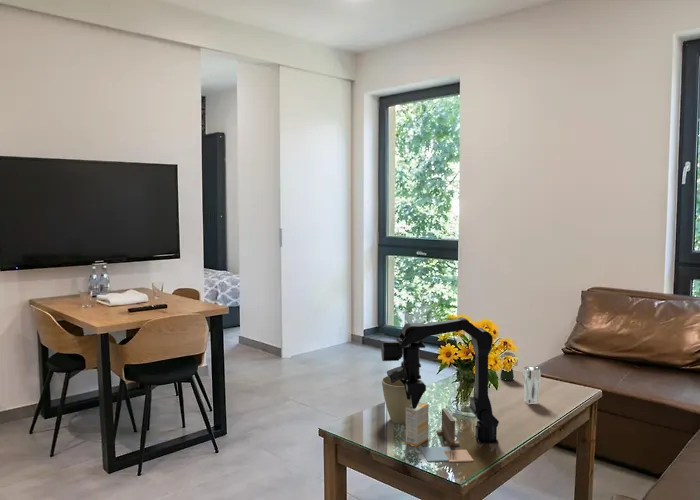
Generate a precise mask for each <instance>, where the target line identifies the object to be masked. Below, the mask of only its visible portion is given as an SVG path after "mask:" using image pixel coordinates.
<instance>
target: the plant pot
mask: <svg viewBox="0 0 700 500" xmlns="http://www.w3.org/2000/svg"><path fill="white" fill-rule="evenodd" d="M417 380H420V379H417ZM381 385H382V392H383V397H384V402H385V405H386V409H387V413H388V415H389V416H388V417H389V418H390V420H391V422H392V423H395V424H397V425H398V424H399V425H400V424H401V425H402V424H404V425H405V424H406V407H408V406H410V405H412V402H411V399H410V400H408V399H407V396H406V392H405V388H404V384H403V383H402V382H401V381H400V380H398V381H396V382H394V383H391V382H390V380H389V377H388V375H387V376H386V375H385V376H384V377H382V378H381Z"/></svg>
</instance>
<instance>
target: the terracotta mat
mask: <svg viewBox="0 0 700 500" xmlns="http://www.w3.org/2000/svg"><path fill="white" fill-rule="evenodd" d="M448 451H449V452H450V451H451V453H453V454H454V455H455V456H456V457H454V458H453V454H451V458H450V457H449V456H448V455H450V454H448ZM448 451H447V450H446V452H447V453H446V452H445V451H444V453H445V455H446V454H447V455H446V456H448V457H447V458H448V459H449V458H450V459H449V461H448V462H449V463H465V462H466V463H467V462H469V463H470V462H474V459H473V457H472V456H471V455H470V453H469V452H468V450H467V449H451V450H448Z"/></svg>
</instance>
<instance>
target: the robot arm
mask: <svg viewBox="0 0 700 500" xmlns="http://www.w3.org/2000/svg"><path fill="white" fill-rule="evenodd" d="M401 328H402V329H401V333H400V334H399V336H398V337H397V338H396V340H394V341H391V340H390V341H387V340H383V341H382V344H381V351H380V355H381V356H380V357H381V361H382V362H394V361H395V362H399V361H400V360H401V359H402V361H401V362H400V366H397V367H393V368H391V369H389V370H386V374H387V376H388V377H389V380H390V382H391V383H394V382H396V381H398V380H400V381H401V382H402V383H403V384H404V388H405V392H406V396H407V399H408V400H410V399H411V402H412V408H413V409H416V407H417V405H418V403H419V402H421V398H422V397H423V395H424V393H425V392H426V391H427V385H426V384H425V382H423V380H421V379H422V376H421V374H420V372H421V371H420V368H421V367H422V364H421V363H420V354H421V353H420V349H425V348H426V345H425V344H424V343H423V342H422V341H423V340H425V339H427V338H430V337H431V336H437V335H441V334H442V335H443V334H448V333H454V332H460V331H463V332H465V333H466V334H467V335H469V336H470V337H471V343H472V345H471V346H473V348H474V351H475V387H474V394H473V396H469V406H468V408H469V409H470V410H471V413H472V414H473V415H474V416H475V417H476V419H477V421H476V425H475V427H474V428H475V431H474V434H475V435H474V437H475V438H476V439H477V441H478V442H479V444H495V443H496V444H497V443H499V440H498V439H497V432H498V431H497V429H498V428H497V427H498V426H499V423H500V421H499V419H498V418H496V416H494V414H493V408H492V402H491V400H490V396H489V355H490V353H491V350H492V346H493V343H494V342H493V341H494V340H493V339H494V337H493V336H492V334H491V333H490V332H488V331H487V330H486V329H484V328H482V327H476V326H475V325H474V324H472V322H470V321H469V319H467V318H465V317H463V316H461V317H458V318H453V319H447V320H441V321H435V322H430V323H429V322H428V323H422V322H408V323H405V324H404V325H403V327H401ZM417 379H419V380H417Z"/></svg>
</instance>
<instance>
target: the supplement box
mask: <svg viewBox="0 0 700 500" xmlns="http://www.w3.org/2000/svg"><path fill="white" fill-rule="evenodd" d="M429 407H430V405H429V403H425V402H422V401H419V403H418V405H417V407H416V409H413V408H412V405H410V406H408V407H406V423H405V444H406V445H409V446H412V447H418V446H420V445H422V444H423V443H425V442H426V441H428V440H429Z"/></svg>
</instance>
